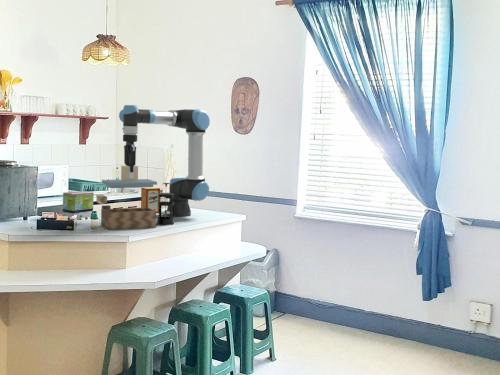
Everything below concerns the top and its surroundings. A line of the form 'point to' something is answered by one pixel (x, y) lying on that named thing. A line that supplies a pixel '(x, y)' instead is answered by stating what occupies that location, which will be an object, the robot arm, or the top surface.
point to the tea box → (78, 204)
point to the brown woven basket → (127, 218)
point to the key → (101, 199)
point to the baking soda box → (150, 198)
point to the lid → (129, 180)
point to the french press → (172, 209)
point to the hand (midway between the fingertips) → (129, 177)
